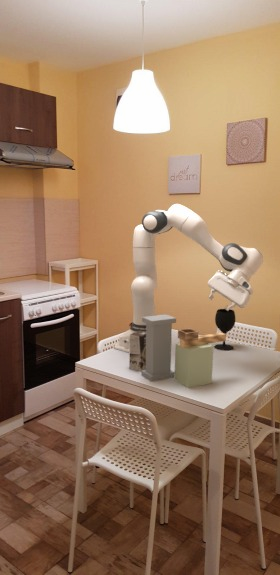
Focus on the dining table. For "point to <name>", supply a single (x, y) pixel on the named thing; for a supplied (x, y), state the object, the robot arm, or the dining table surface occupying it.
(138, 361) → the coffee box
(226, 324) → the wine glass
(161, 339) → the tower
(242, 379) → the dining table surface
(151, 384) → the dining table surface
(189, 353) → the box
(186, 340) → the catapult arm
